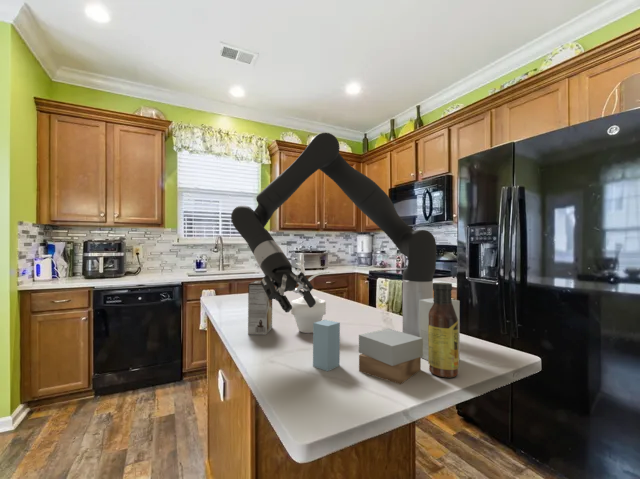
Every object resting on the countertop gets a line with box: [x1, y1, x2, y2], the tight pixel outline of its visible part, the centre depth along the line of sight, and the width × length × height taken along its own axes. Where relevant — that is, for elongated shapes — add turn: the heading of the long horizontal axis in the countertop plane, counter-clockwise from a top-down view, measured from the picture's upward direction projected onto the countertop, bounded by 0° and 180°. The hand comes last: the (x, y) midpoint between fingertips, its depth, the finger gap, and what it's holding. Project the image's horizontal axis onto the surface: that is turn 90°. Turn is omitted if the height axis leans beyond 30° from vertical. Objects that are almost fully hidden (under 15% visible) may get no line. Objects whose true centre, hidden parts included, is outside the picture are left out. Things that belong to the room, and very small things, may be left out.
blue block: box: [312, 319, 341, 372], centre depth 73 cm, size 4×4×10 cm
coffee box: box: [247, 280, 273, 336], centre depth 102 cm, size 9×6×16 cm
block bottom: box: [358, 353, 422, 385], centre depth 70 cm, size 10×10×4 cm
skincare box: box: [419, 297, 461, 362], centre depth 78 cm, size 8×6×15 cm
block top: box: [358, 328, 423, 366], centre depth 70 cm, size 10×10×4 cm
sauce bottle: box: [428, 282, 460, 379], centre depth 69 cm, size 7×6×20 cm
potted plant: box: [290, 256, 330, 334], centre depth 103 cm, size 13×12×25 cm
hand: (301, 307), depth 78 cm, fingers open, 8 cm apart
